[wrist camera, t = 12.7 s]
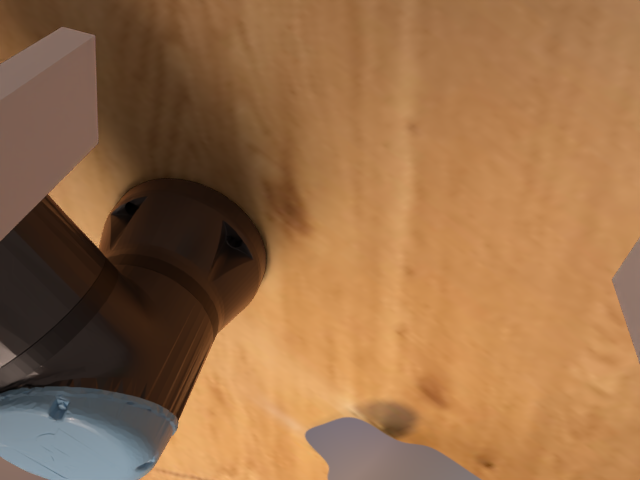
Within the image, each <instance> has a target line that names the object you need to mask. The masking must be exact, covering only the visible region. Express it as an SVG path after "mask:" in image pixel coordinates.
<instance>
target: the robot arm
mask: <svg viewBox="0 0 640 480" xmlns="http://www.w3.org/2000/svg"><path fill="white" fill-rule="evenodd" d="M97 144H98V110H97V75H96V41H95V35H92V34H89V33H85V32H81V31H77V30H73V29H69V28H66V27H61V28H59V29H57V30H56V31H54V32H52V33H51V34H49V35H47V36H46V37H44V38H42V39H41V40H39V41H38V42H36V43H34V44H33V45H31V46H29V47H28V48H26V49H24V50H23V51H21V52H19V53H18V54H16V55H14V56H13V57H11V58H9V59H8V60H6V61H4V62H3V63H1V64H0V456H1V457H2V458H4V459H5V460H7V461H8V462H10V463H12V464H14V465H15V466H17V467H20V468H21V469H23V470H26V471H27V472H30V473H32V474H35V475H37V476H40V477H43V478H46V479H49V480H139V479H140V478H142V477H143V476H145V475H146V474H147V473H148V472H150V471H151V469H152V468H153V467H154V466H155V464H156V463H157V461H158V459H159V458H160V456H161V454H162V452H163V450H164V449H165V447H166V445H167V443H168V442H169V440H170V438H171V436H172V435H173V434H174V433H175V432H176V430H177V428H178V423H179V422H178V420H179V418H180V416H181V414H182V411H183V409H184V407H185V405H186V402H187V400H188V398H189V396H190V393H191V391H192V389H193V387H194V384H195V382H196V380H197V378H198V375H199V373H200V371H201V369H202V367H203V364H204V362H205V360H206V358H207V355H208V353H209V351H210V349H211V346H212V344H213V342H214V339H215V337H216V335H217V333H218V332H220V331H221V330H222V329H223V328H224V327H225V326H226V325H227V324H228V323H229V322H230V321H231V320H232V319H233V318H235V317H236V316H237V315H238V314H239V313H240V312H241V311H242V310H243V309H244V308H245V307H246V306H247V305H248V304H249V303H250V302H251V301H252V299H253V298H254V296H255V294H256V293H257V290H258V288H259V286H260V283H261V281H262V278H263V276H264V273H265V268H266V253H265V248H264V244H263V241H262V238H261V236H260V234H259V232H258V230H257V229H256V227H255V225H254V224H253V222H252V221H251V220H250V218H249V217H248V216H247V215H246V214H245V213H244V212H243V211H242V210H241V209H240V208H239V207H238V206H237V205H236V204H235V203H233V202H232V201H231V200H229V199H228V198H227V197H225V196H223V195H222V194H220V193H218V192H217V191H215V190H213V189H211V188H208V187H206V186H203V185H201V184H198V183H194V182H191V181H186V180H180V179H157V180H151V181H147V182H144V183H142V184H139V185H137V186H135V187H134V188H132V189H131V190H129V191H128V192H127V193H126V194H125V195H124V196H123V197H122V198H121V200H120V201H119V202H118V203H117V204H116V206H115V207H114V208H113V209H112V211H111V212H110V214H109V216H108V218H107V220H106V222H105V225H104V229H103V233H102V237H101V241H100V245H99V249H98V248H97V247H96V246H95V244H94V243H93V242H92V241H91V240H90V239H89V238H88V237H87V236H86V235H85V234H84V233H83V232H82V231H81V230H80V229H79V228H78V226H77V225H76V224H75V223H74V222H73V221H72V220H71V219H70V218H69V217H68V216H67V215H66V214H65V213H64V212H63V211H62V209H61V208H60V207H59V206H58V205H57V204H56V203H55V202H54V201H53V200H52V198H51V197H50V196H49V195H48V193H49V192H50V191H51V190H52V189H53V188H54V187H55V186H56V185H57V184H58V183H59V182H60V181H61V180H62V179H63V178H64V177H65V176H66V175H67V174H68V173H69V172H70V171H71V170H72V169H73V168H74V167H75V166H76V165H77V164H78V163H79V162H80V161H81V160H82V159H83V158H84V157H85V156H86V155H87V154H88V153H89V152H90V151H91V150H92V149H93V148H94V147H95V146H96V145H97ZM612 281H613V284H614V288H615V291H616V294H617V297H618V300H619V303H620V306H621V309H622V312H623V315H624V318H625V321H626V324H627V327H628V330H629V333H630V336H631V339H632V342H633V345H634V348H635V351H636V354H637V357H638V360H639V363H640V238H639V239H638V241H637V242H636V244H635V245H634V247H633V248H632V250H631V251H630V253H629V254H628V256H627V257H626V259H625V260H624V262H623V263H622V265H621V266H620V268H619V269H618V271H617V272H616V274H615V275H614V277H613V278H612Z"/></svg>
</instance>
